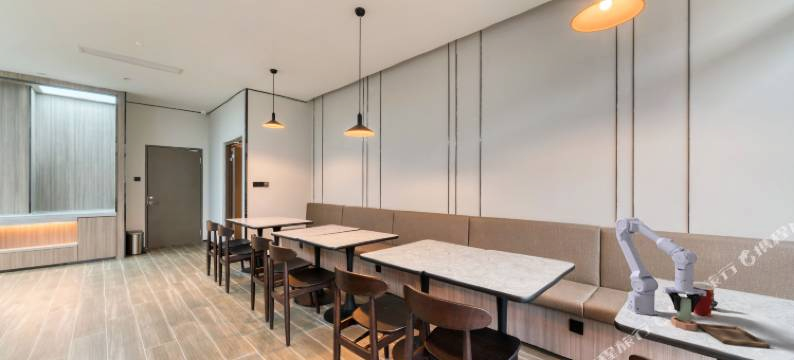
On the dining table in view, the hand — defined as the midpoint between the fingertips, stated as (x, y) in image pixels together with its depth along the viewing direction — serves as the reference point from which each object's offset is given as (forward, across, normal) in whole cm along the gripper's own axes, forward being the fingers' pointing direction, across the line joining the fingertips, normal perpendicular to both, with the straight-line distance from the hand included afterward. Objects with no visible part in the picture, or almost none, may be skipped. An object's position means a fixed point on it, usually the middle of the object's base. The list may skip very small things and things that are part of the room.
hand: (683, 311), depth 129 cm
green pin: (+3, 0, 0) cm, 3 cm away
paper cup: (+7, +16, +15) cm, 23 cm away
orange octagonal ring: (+6, 0, 0) cm, 6 cm away
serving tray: (+6, +12, -6) cm, 15 cm away
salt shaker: (+7, +24, +23) cm, 34 cm away
